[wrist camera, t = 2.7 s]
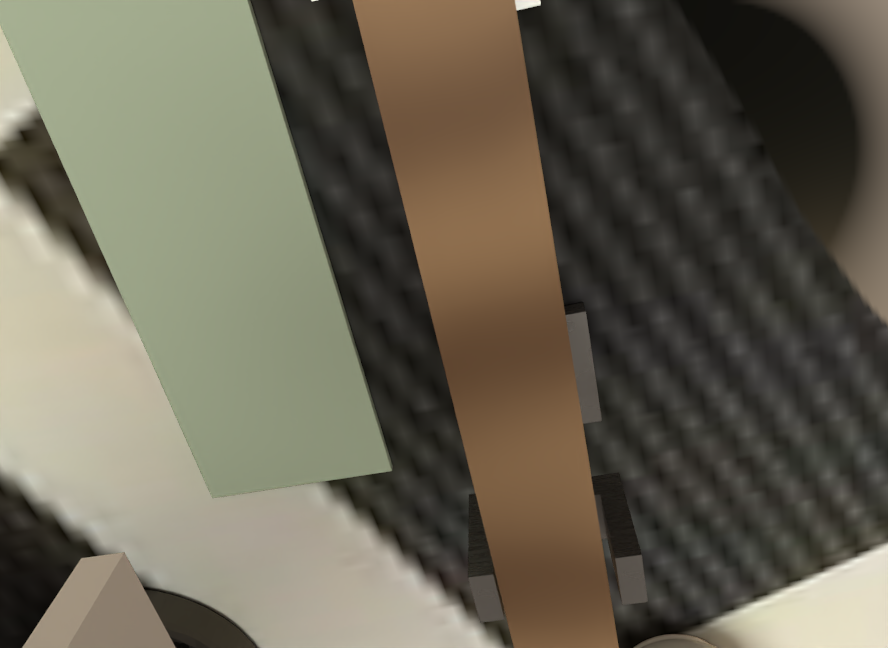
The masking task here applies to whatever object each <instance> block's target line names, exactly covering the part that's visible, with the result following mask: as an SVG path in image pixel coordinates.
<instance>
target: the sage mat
mask: <svg viewBox="0 0 888 648" xmlns="http://www.w3.org/2000/svg"><path fill="white" fill-rule="evenodd" d="M0 26H1V28H2V30H3V32H4V34H5V37H6V39H7V41H8V43H9V46H10V48H11V50H12V52H13V55H14V57H15V59H16V61H17V63H18V66H19V68H20V70H21V72H22V75H23V77H24V79H25V81H26V84H27V86H28V88H29V90H30V92H31V95H32V97H33V99H34V101H35V104H36V106H37V108H38V110H39V113H40V115H41V117H42V119H43V121H44V124H45V126H46V128H47V130H48V133H49V135H50V137H51V139H52V142H53V144H54V146H55V148H56V150H57V153H58V155H59V157H60V159H61V162H62V164H63V166H64V168H65V171H66V173H67V175H68V177H69V179H70V182H71V184H72V186H73V188H74V191H75V193H76V195H77V197H78V200H79V202H80V204H81V206H82V208H83V211H84V213H85V215H86V217H87V220H88V222H89V224H90V226H91V228H92V231H93V233H94V235H95V237H96V240H97V242H98V244H99V246H100V249H101V251H102V253H103V255H104V257H105V260H106V262H107V264H108V266H109V269H110V271H111V273H112V275H113V278H114V280H115V282H116V284H117V286H118V289H119V291H120V293H121V295H122V298H123V300H124V302H125V304H126V307H127V309H128V311H129V313H130V315H131V318H132V320H133V322H134V324H135V327H136V329H137V331H138V333H139V336H140V338H141V340H142V342H143V344H144V347H145V349H146V351H147V353H148V356H149V358H150V360H151V362H152V365H153V367H154V369H155V371H156V373H157V376H158V378H159V380H160V382H161V385H162V387H163V389H164V391H165V394H166V396H167V398H168V400H169V402H170V405H171V407H172V409H173V411H174V414H175V416H176V418H177V420H178V423H179V425H180V427H181V429H182V431H183V434H184V436H185V438H186V440H187V443H188V445H189V447H190V449H191V451H192V454H193V456H194V458H195V460H196V463H197V465H198V467H199V469H200V472H201V474H202V476H203V478H204V480H205V483H206V485H207V487H208V489H209V492H210V494H211V496H212V498H218V497H225V496H231V495H238V494H244V493H251V492H257V491H264V490H270V489H277V488H283V487H290V486H297V485H303V484H310V483H316V482H323V481H329V480H336V479H342V478H349V477H355V476H362V475H368V474H375V473H382V472H388V471H392V467H393V466H392V463H391V459H390V456H389V453H388V449H387V446H386V443H385V440H384V436H383V433H382V430H381V426H380V423H379V420H378V417H377V413H376V410H375V407H374V404H373V400H372V397H371V394H370V390H369V387H368V384H367V381H366V377H365V374H364V371H363V368H362V364H361V361H360V358H359V354H358V351H357V348H356V345H355V341H354V338H353V335H352V332H351V328H350V325H349V322H348V318H347V315H346V312H345V309H344V305H343V302H342V299H341V296H340V292H339V289H338V286H337V282H336V279H335V276H334V273H333V269H332V266H331V263H330V259H329V256H328V253H327V250H326V246H325V243H324V240H323V237H322V233H321V230H320V227H319V223H318V220H317V217H316V214H315V210H314V207H313V204H312V201H311V197H310V194H309V191H308V187H307V184H306V181H305V178H304V174H303V171H302V168H301V165H300V161H299V158H298V155H297V151H296V148H295V145H294V142H293V138H292V135H291V132H290V129H289V125H288V122H287V119H286V115H285V112H284V109H283V106H282V102H281V99H280V96H279V92H278V89H277V86H276V83H275V79H274V76H273V73H272V70H271V66H270V63H269V60H268V56H267V53H266V50H265V47H264V43H263V40H262V37H261V34H260V30H259V27H258V24H257V20H256V17H255V14H254V11H253V7H252V4H251V1H250V0H0Z"/></svg>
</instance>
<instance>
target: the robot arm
mask: <svg viewBox="0 0 888 648" xmlns="http://www.w3.org/2000/svg"><path fill="white" fill-rule="evenodd" d="M22 648H256V647H255V646H254V645H253V643H252V642H251V641H250V640H249V639H248V638H247V637H246V636H245V635H244V634H243V633H242V632H241V631H240V630H239V629H238V628H237V627H235V626H234V625H233V624H232V623H230V622H229V621H227V620H226V619H224V618H223V617H222V616H220V615H218V614H217V613H215V612H213V611H211V610H209V609H207V608H206V607H203V606H201V605H199V604H197V603H194V602H192V601H189V600H187V599H184V598H181V597H178V596H174V595H171V594H167V593H162V592H157V591H151V590H144V588H143V586H142V584H141V583H140V581H139V579H138V577H137V575H136V573H135V571H134V570H133V568H132V566H131V564H130V562H129V560H128V559H127V557H126V555H125V553H124V552H123V553H116V554H109V555H102V556H94V557H87V558H81V560H80V561H79V563H78V564H77V566H76V567H75V569H74V570H73V572H72V573H71V575H70V576H69V578H68V579H67V581H66V582H65V584H64V585H63V587H62V588H61V590H60V591H59V593H58V594H57V596H56V597H55V599H54V600H53V602H52V603H51V605H50V606H49V608H48V609H47V611H46V612H45V614H44V616H43V617H42V619H41V620H40V622H39V623H38V625H37V626H36V628H35V629H34V631H33V632H32V634H31V635H30V637H29V638H28V640H27V641H26V643H25V644H24V646H23V647H22Z"/></svg>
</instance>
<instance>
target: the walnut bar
mask: <svg viewBox="0 0 888 648" xmlns="http://www.w3.org/2000/svg"><path fill="white" fill-rule="evenodd" d="M353 4H354V8H355V12H356V16H357V20H358V24H359V28H360V32H361V36H362V40H363V44H364V48H365V52H366V56H367V60H368V64H369V68H370V72H371V76H372V80H373V84H374V88H375V92H376V96H377V100H378V104H379V108H380V112H381V116H382V120H383V124H384V128H385V132H386V136H387V140H388V144H389V148H390V152H391V156H392V160H393V164H394V168H395V172H396V176H397V180H398V184H399V188H400V192H401V196H402V201H403V205H404V209H405V213H406V217H407V221H408V225H409V229H410V233H411V237H412V241H413V245H414V249H415V253H416V257H417V261H418V265H419V269H420V273H421V277H422V281H423V285H424V289H425V293H426V297H427V301H428V305H429V309H430V313H431V317H432V321H433V325H434V329H435V333H436V337H437V341H438V345H439V349H440V353H441V357H442V361H443V365H444V369H445V373H446V377H447V381H448V385H449V389H450V393H451V397H452V401H453V405H454V409H455V413H456V417H457V421H458V425H459V429H460V433H461V437H462V441H463V445H464V449H465V453H466V457H467V461H468V465H469V469H470V473H471V477H472V481H473V485H474V489H475V493H476V497H477V501H478V505H479V509H480V513H481V517H482V521H483V525H484V529H485V533H486V537H487V541H488V545H489V549H490V553H491V557H492V561H493V565H494V569H495V573H496V577H497V581H498V585H499V589H500V593H501V597H502V601H503V605H504V609H505V613H506V617H507V621H508V626H509V630H510V634H511V638H512V642H513V646H514V648H619V646H618V640H617V634H616V627H615V621H614V615H613V609H612V602H611V596H610V590H609V584H608V577H607V571H606V565H605V559H604V553H603V546H602V540H601V534H600V528H599V521H598V515H597V509H596V503H595V496H594V490H593V484H592V478H591V472H590V465H589V459H588V453H587V447H586V440H585V434H584V428H583V422H582V416H581V409H580V403H579V397H578V391H577V384H576V378H575V372H574V366H573V359H572V353H571V347H570V341H569V335H568V328H567V322H566V316H565V310H564V303H563V297H562V291H561V285H560V278H559V272H558V266H557V260H556V254H555V247H554V241H553V235H552V229H551V222H550V216H549V210H548V204H547V198H546V191H545V185H544V179H543V173H542V166H541V160H540V154H539V148H538V141H537V135H536V129H535V123H534V117H533V110H532V104H531V98H530V92H529V85H528V79H527V73H526V67H525V60H524V54H523V48H522V42H521V36H520V29H519V23H518V17H517V11H516V4H515V0H353Z"/></svg>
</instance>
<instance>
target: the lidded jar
mask: <svg viewBox="0 0 888 648" xmlns="http://www.w3.org/2000/svg"><path fill="white" fill-rule="evenodd" d="M633 648H718V647H715V646H713V645H711V644H710V643H708V642H706V641H705V640H703V639H700V638H698V637H695V636H691V635H685V634H665V635H660V636H655V637H652V638H649V639H647V640H645V641H642V642H641V643H639V644H637V645H636V646H634V647H633Z"/></svg>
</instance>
